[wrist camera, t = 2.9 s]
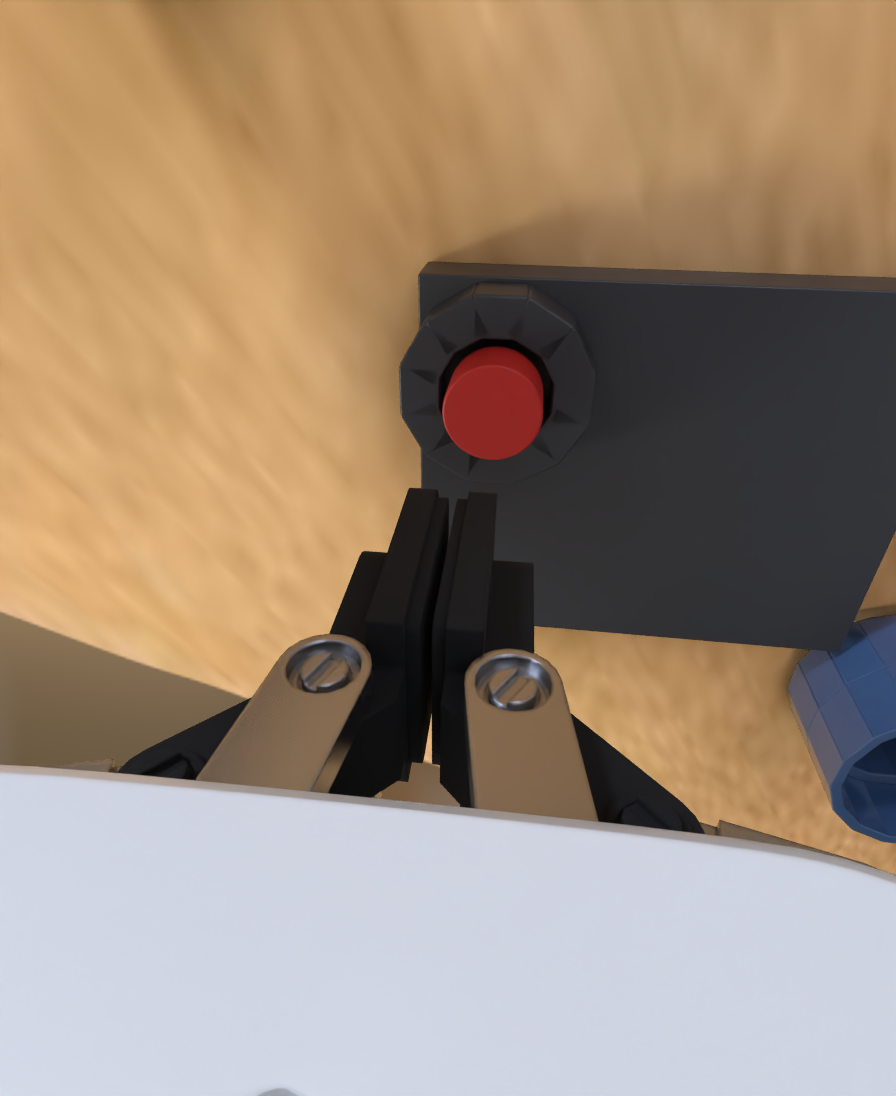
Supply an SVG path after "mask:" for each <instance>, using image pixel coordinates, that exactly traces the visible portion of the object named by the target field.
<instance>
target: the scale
mask: <svg viewBox="0 0 896 1096" xmlns="http://www.w3.org/2000/svg"><path fill="white" fill-rule="evenodd" d="M418 285H419V331H418V333H417V335H416V336H415V338H414V340H413V342H412V344H411V345H410V347H409V349H408V351H407V353H406V354H405V356H404V358H403V360H402V361H401V363H400V367H399V380H400V411H401V415H402V418H403V420H404V421H405V423H406V424H407V426H408V428H409V429H410V431H411V433H412V434H413V436H414V437H415V439H416V441H417V442H418V444H419V446H420V447H421V489H437V490H438V492H439V497H445V498H449V537H450V532H451V527H452V522H453V517H454V512H455V507H456V501H457V498H461V499H468V494H469V491H470V492H486V493H497V511H496V528H495V544H494V560H498V561H513V562H527V563H533V564H534V626H541V627H552V628H564V629H576V630H587V631H599V632H610V633H622V634H634V635H645V636H657V637H669V638H680V639H692V640H703V641H715V642H727V643H738V644H750V645H762V646H773V647H785V648H796V649H808V650H820V651H831V652H839V651H840V649H841V646H842V644H843V642H844V640H845V638H846V636H847V634H848V631H849V629H850V627H851V625H852V623H853V621H854V619H855V616H856V614H857V612H858V610H859V608H860V606H861V604H862V601H863V599H864V597H865V595H866V593H867V591H868V589H869V586H870V584H871V582H872V580H873V578H874V576H875V574H876V571H877V569H878V567H879V565H880V563H881V561H882V559H883V556H884V554H885V552H886V550H887V548H888V546H889V544H890V541H891V539H892V537H893V535H894V533H895V531H896V278H885V277H856V276H827V275H798V274H769V273H740V272H711V271H682V270H653V269H624V268H595V267H566V266H537V265H508V264H479V263H450V262H428V263H427V264H426V265H425V267H424V268H423V269H422V271H421V272H420V273H419V275H418ZM492 346H500V347H506V348H510V349H513V350H516V351H518V352H520V353H521V354H523V355H524V356H526V357H527V358H528V359H529V360H530V361H531V362H532V363H533V364H534V366H535V367H536V368H537V370H538V372H539V374H540V377H541V380H542V384H543V421H542V425H541V428H540V430H539V433H538V435H537V436H536V438H535V439H534V441H533V442H532V443H531V444H530V445H529V446H528V447H527V448H526V449H524V450H523V451H521V452H520V453H518V454H516V455H514V456H511V457H509V458H505V459H498V460H488V459H482V458H478V457H475V456H472V455H470V454H468V453H467V452H465V451H464V450H462V449H461V448H460V447H459V446H457V445H456V444H455V442H454V441H453V440H452V439H451V437H450V436H449V434H448V432H447V430H446V428H445V425H444V421H443V415H442V408H443V401H444V397H445V395H446V392H447V389H448V386H449V383H450V380H451V377H452V374H453V372H454V370H455V368H456V367H457V366H458V364H459V363H460V362H461V361H462V360H463V359H464V358H465V357H466V356H468V355H469V354H471V353H472V352H474V351H476V350H479V349H482V348H485V347H492Z"/></svg>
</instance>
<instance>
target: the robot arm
mask: <svg viewBox="0 0 896 1096" xmlns="http://www.w3.org/2000/svg"><path fill="white" fill-rule="evenodd" d="M496 511H497V493H486V492H470V491H469V494H468V499H461V498H457V501H456V507H455V512H454V517H453V522H452V527H451V532H450V537H449V498H445V497H439V492H438V490H437V489H421V488H409V490H408V492H407V495H406V498H405V501H404V504H403V507H402V510H401V513H400V516H399V519H398V522H397V525H396V528H395V531H394V534H393V537H392V540H391V543H390V546H389V549H388V552H387V553H384V552H369V551H364V552H362V553H361V555H360V557H359V559H358V562H357V564H356V567H355V570H354V572H353V575H352V577H351V580H350V582H349V585H348V587H347V590H346V592H345V595H344V598H343V600H342V603H341V605H340V608H339V610H338V613H337V615H336V618H335V621H334V623H333V626H332V628H331V631H330V633H329V634H325V635H317V636H312V637H309V638H307V639H304V640H301V641H299V642H297V643H296V644H294V645H293V646H291V647H289V648H288V649H287V650H286V651H285V652H284V653H283V654H282V655H281V657H280V658H279V659H278V661H277V662H276V664H275V665H274V666H273V668H272V669H271V671H270V672H269V674H268V675H267V677H266V678H265V680H264V681H263V682H262V684H261V685H260V687H259V688H258V690H257V691H256V693H255V694H254V695H253V697H252V698H250V699H247V700H245V701H243V702H242V703H239V704H237V705H235V706H233V707H231V708H229V709H227V710H225V711H223V712H221V713H219V714H217V715H215V716H213V717H211V718H209V719H207V720H205V721H203V722H201V723H199V724H197V725H195V726H193V727H191V728H188V729H187V730H185V731H182V732H180V733H178V734H176V735H174V736H172V737H170V738H168V739H166V740H164V741H162V742H160V743H158V744H156V745H154V746H152V747H150V748H148V749H146V750H144V751H142V752H141V753H139V754H138V755H136V756H134V757H133V758H131V759H130V760H129V761H128V762H127V763H126V764H125V765H124V766H118V767H116V764H115V762H114V760H113V759H110V760H100V761H90V762H80V763H70V764H60V765H50V766H40V767H34V766H11V765H0V1096H896V875H894V874H891V873H888V872H885V871H882V870H879V869H877V868H875V867H872V866H870V865H868V864H866V863H862V862H859V861H856V860H852V859H849V858H846V857H842V856H839V855H835V854H832V853H829V852H825V851H822V850H819V849H815V848H812V847H809V846H805V845H802V844H799V843H795V842H792V841H789V840H785V839H782V838H779V837H775V836H772V835H769V834H765V833H762V832H759V831H755V830H752V829H749V828H745V827H742V826H738V825H735V824H732V823H728V822H725V821H722V820H719V823H718V825H717V827H714V826H711V825H707V824H704V823H701V822H699V821H698V820H697V818H696V816H695V815H694V814H693V813H692V812H691V811H690V810H689V809H688V808H687V807H686V806H685V805H684V804H683V803H682V802H681V801H680V800H678V799H677V798H676V797H675V796H673V795H672V794H671V793H670V792H668V791H667V790H666V789H665V788H663V787H662V786H661V785H660V784H658V783H657V782H656V781H655V780H653V779H652V778H651V777H650V776H648V775H647V774H646V773H645V772H643V771H642V770H641V769H640V768H639V767H637V766H636V765H635V764H634V763H632V762H631V761H630V760H629V759H627V758H626V757H625V756H624V755H622V754H621V753H620V752H619V751H617V750H616V749H615V748H614V747H612V746H611V745H610V744H609V743H607V742H606V741H605V740H604V739H602V738H601V737H600V736H599V735H597V734H596V733H595V732H594V731H592V730H591V729H590V728H589V727H587V726H586V725H585V724H584V723H582V722H581V721H580V720H579V719H577V718H576V717H575V716H574V715H572V714H571V713H570V709H569V705H568V702H567V698H566V694H565V690H564V686H563V682H562V679H561V677H560V675H559V673H558V671H557V670H556V669H555V668H554V667H553V666H552V665H551V663H550V662H549V661H547V660H546V659H544V658H542V657H540V656H539V655H537V654H535V653H534V564H533V563H527V562H513V561H498V560H494V544H495V528H496ZM431 714H432V764H436V765H440V783H441V784H442V785H443V786H444V788H445V789H446V790H447V791H448V792H449V793H450V794H451V795H452V796H453V797H454V798H455V799H456V801H457V802H458V803H459V804H460V807H455V806H445V805H436V804H426V803H416V802H407V801H397V800H387V799H382V793H381V791H382V790H384V789H386V788H387V787H388V786H390V785H392V784H393V783H395V782H396V781H405V782H408V779H409V774H410V768H411V763H412V762H416V763H423V760H424V755H425V749H426V743H427V737H428V731H429V725H430V719H431Z"/></svg>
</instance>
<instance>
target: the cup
mask: <svg viewBox="0 0 896 1096" xmlns="http://www.w3.org/2000/svg"><path fill="white" fill-rule="evenodd" d="M788 693H789V699H790V705H791V710H792V712H793V715H794V717H795V719H796V722H797V724H798V727H799V729H800V732H801V734H802V736H803V739H804V741H805V744H806V746H807V748H808V751H809V753H810V756H811V759H812V761H813V763H814V766H815V768H816V771H817V773H818V775H819V778H820V780H821V783H822V785H823V788H824V790H825V792H826V795H827V797H828V800H829V802H830V804H831V807H832V809H833V811H834V812H835V813H836V814H837V815H838V816H839V817H840V818H841V819H842V820H843V821H844V822H845V823H846V824H847V825H848V826H849V827H850V828H851V829H853V830H854V831H857V832H859V833H862V834H864V835H867V836H869V837H872V838H874V839H877V840H879V841H882V842H888V843H896V615H893V616H882V617H875V618H870V619H866V620H861V621H858V622H855V623H852V625H851V627H850V629H849V631H848V634H847V636H846V638H845V640H844V642H843V644H842V646H841V649H840V651H839V652H831V651H820V650H810V651H809V652H808V654H807V655H806V656H805V657H804V658H802V659H801V660H800V661H799V663H798V664H797V666H796V668H795V671H794V673H793V675H792V678H791V680H790V682H789V685H788Z"/></svg>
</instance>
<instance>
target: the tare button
mask: <svg viewBox="0 0 896 1096" xmlns="http://www.w3.org/2000/svg"><path fill="white" fill-rule="evenodd" d="M442 415H443V421H444V425H445V428H446V430H447V432H448V434H449V436H450V437H451V439H452V440H453V441H454V442H455V444H456V445H457V446H459V447H460V448H461V449H462V450H464V451H465V452H467V453H468V454H470V455H472V456H475V457H478V458H482V459H488V460H498V459H505V458H509V457H511V456H514V455H516V454H518V453H520V452H521V451H523V450H524V449H526V448H527V447H528V446H529V445H530V444H531V443H532V442H533V441H534V439H535V438H536V436H537V435H538V433H539V430H540V428H541V425H542V421H543V384H542V380H541V377H540V374H539V372H538V370H537V368H536V367H535V366H534V364H533V363H532V362H531V361H530V360H529V359H528V358H527V357H526V356H524V355H523V354H521V353H520V352H518V351H516V350H513V349H510V348H506V347H500V346H492V347H485V348H482V349H479V350H476V351H474V352H472V353H471V354H469V355H468V356H466V357H465V358H464V359H463V360H462V361H461V362H460V363H459V364H458V366H457V367H456V368H455V370H454V372H453V374H452V377H451V380H450V383H449V386H448V389H447V392H446V395H445V397H444V401H443V408H442Z"/></svg>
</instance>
